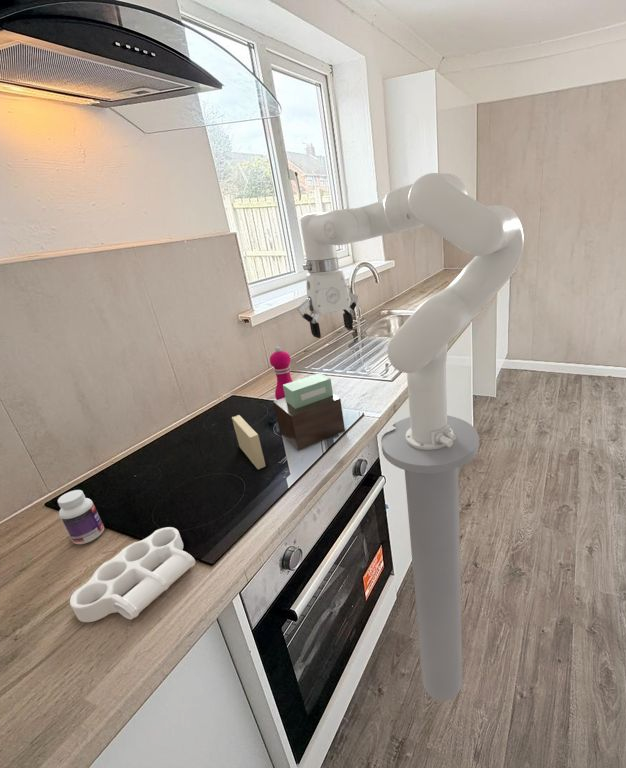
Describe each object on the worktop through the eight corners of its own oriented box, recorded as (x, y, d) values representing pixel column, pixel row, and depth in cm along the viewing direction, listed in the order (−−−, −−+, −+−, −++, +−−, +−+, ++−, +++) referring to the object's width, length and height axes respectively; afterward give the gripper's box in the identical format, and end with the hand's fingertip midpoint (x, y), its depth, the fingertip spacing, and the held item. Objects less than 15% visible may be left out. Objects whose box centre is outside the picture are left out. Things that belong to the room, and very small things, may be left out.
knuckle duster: (115, 643, 61) (60, 609, 67) (212, 554, 75) (160, 533, 82) (106, 627, 59) (51, 594, 66) (207, 540, 74) (154, 519, 80)
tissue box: (322, 389, 116) (320, 372, 114) (333, 395, 111) (330, 378, 109) (286, 401, 110) (282, 384, 108) (295, 409, 105) (292, 391, 103)
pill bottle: (109, 531, 83) (91, 492, 79) (79, 549, 79) (58, 509, 75) (98, 522, 86) (80, 484, 82) (68, 538, 82) (47, 499, 78)
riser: (345, 431, 113) (340, 398, 109) (298, 450, 106) (291, 416, 102) (324, 416, 122) (319, 385, 118) (280, 433, 115) (273, 401, 111)
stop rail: (266, 466, 100) (258, 434, 97) (258, 469, 99) (249, 437, 96) (247, 444, 111) (239, 414, 107) (239, 447, 110) (231, 417, 106)
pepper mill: (274, 412, 127) (260, 351, 119) (283, 401, 134) (271, 343, 126) (296, 412, 126) (284, 350, 118) (304, 401, 133) (293, 342, 125)
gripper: (297, 272, 95) (310, 343, 102) (360, 262, 104) (368, 327, 111) (284, 270, 101) (297, 338, 107) (345, 260, 110) (353, 323, 117)
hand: (333, 332), depth 109 cm, fingers open, 9 cm apart
